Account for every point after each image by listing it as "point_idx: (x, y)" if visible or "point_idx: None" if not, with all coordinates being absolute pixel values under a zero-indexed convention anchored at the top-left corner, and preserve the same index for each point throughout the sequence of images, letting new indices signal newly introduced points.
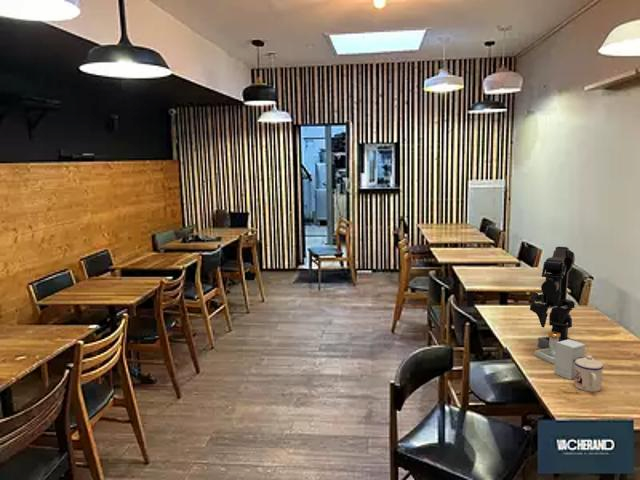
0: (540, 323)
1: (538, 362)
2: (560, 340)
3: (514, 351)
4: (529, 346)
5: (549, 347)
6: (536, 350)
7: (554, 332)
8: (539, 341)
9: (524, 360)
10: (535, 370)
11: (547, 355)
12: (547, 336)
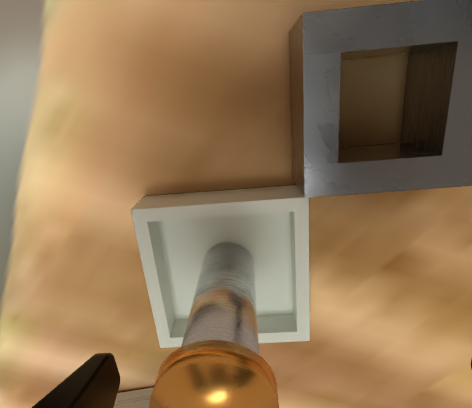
0: (43, 398)
1: (112, 278)
2: (442, 147)
3: (53, 73)
4: (227, 4)
5: (194, 295)
6: (141, 213)
7: (235, 397)
8: (296, 41)
9: (48, 233)
10: (43, 348)
11: (158, 303)
12: (426, 4)
